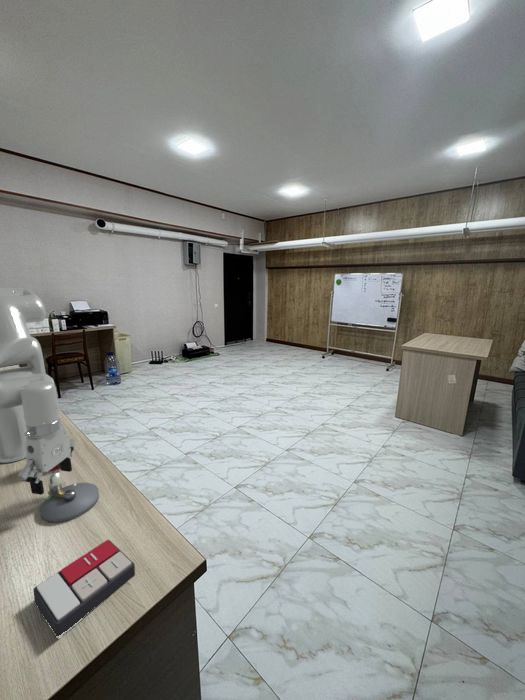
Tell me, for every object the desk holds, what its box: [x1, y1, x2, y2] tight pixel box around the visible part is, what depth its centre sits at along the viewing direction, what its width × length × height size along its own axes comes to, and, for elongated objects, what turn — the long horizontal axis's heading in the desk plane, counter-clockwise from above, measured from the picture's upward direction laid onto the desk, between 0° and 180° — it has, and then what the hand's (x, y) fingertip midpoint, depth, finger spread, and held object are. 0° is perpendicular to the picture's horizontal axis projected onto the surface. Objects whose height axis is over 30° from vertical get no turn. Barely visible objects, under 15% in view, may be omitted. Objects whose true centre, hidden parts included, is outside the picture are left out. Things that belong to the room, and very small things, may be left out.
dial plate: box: [39, 482, 100, 524], centre depth 84 cm, size 14×14×2 cm
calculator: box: [33, 539, 136, 636], centre depth 61 cm, size 11×4×15 cm
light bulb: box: [46, 470, 76, 501], centre depth 83 cm, size 8×3×7 cm, turn 78°
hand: (53, 481), depth 83 cm, fingers open, 9 cm apart
